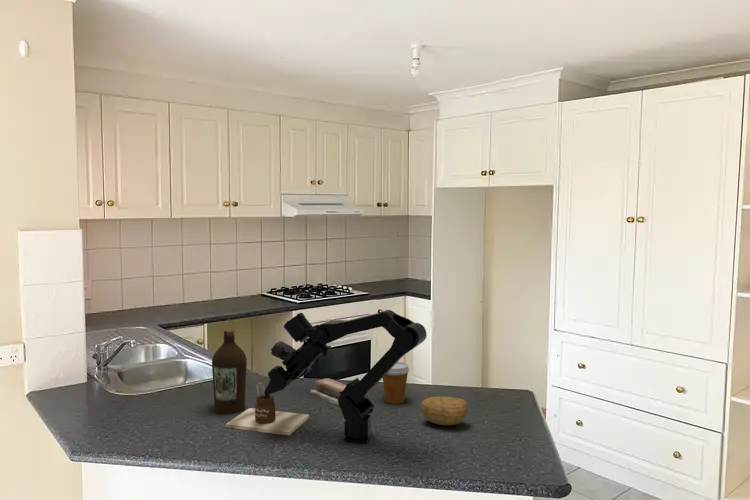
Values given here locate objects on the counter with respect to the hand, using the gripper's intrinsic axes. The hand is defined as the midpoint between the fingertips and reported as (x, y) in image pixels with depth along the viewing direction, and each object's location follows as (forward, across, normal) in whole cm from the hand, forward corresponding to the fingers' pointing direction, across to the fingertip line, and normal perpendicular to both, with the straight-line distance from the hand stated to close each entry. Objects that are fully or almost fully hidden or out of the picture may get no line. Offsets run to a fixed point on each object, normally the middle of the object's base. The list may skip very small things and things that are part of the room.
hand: (272, 389), depth 165 cm
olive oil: (+21, -8, -6) cm, 23 cm away
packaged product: (+2, -29, +14) cm, 33 cm away
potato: (-26, -15, +42) cm, 52 cm away
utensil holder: (+8, 0, +5) cm, 10 cm away
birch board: (+9, -1, +6) cm, 11 cm away
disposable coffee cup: (-13, -31, +28) cm, 44 cm away
